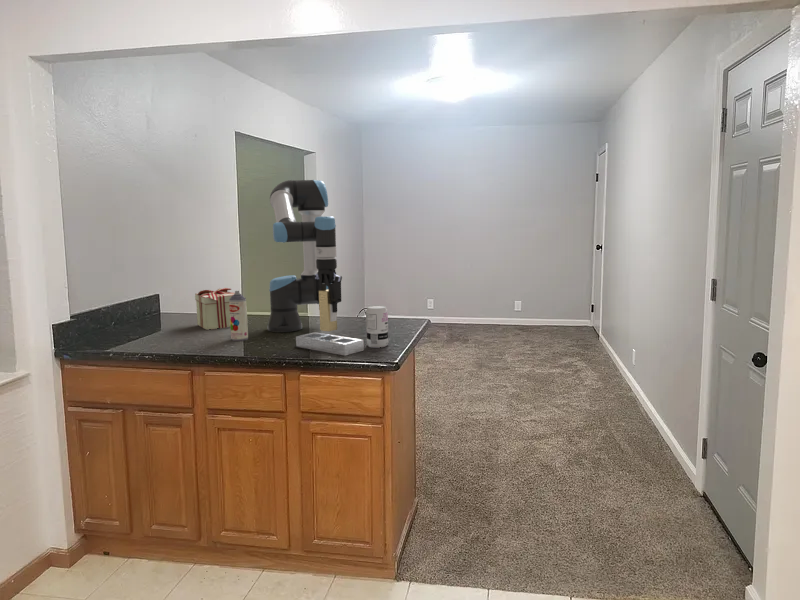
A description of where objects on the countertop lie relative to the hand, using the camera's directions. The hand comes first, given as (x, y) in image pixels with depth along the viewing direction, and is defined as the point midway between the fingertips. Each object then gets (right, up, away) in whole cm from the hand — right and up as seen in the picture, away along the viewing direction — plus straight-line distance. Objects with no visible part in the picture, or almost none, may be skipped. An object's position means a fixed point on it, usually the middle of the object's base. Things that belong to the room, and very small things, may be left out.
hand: (328, 320), depth 237 cm
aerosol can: (-39, -9, +22) cm, 45 cm away
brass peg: (0, -4, +1) cm, 4 cm away
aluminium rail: (0, -11, +2) cm, 11 cm away
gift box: (-55, -5, +52) cm, 76 cm away
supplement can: (+18, -10, +5) cm, 22 cm away
